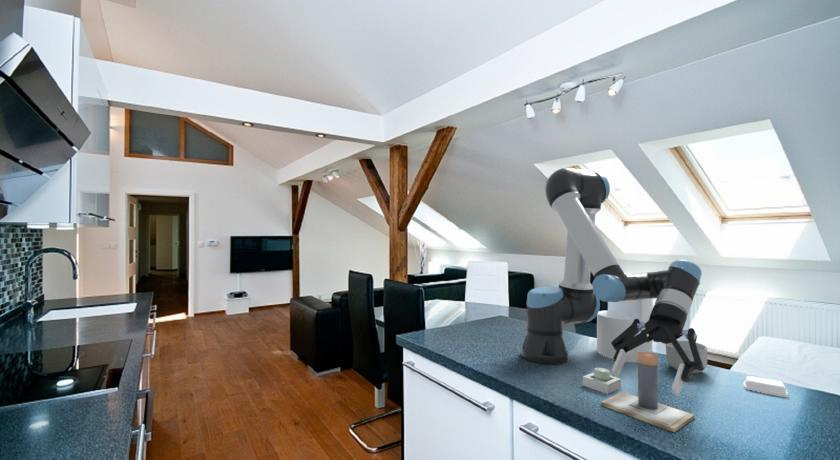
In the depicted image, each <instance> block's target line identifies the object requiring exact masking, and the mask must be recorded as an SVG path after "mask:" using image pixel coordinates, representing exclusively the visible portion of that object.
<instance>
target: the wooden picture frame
mask: <svg viewBox="0 0 840 460" xmlns="http://www.w3.org/2000/svg"><path fill="white" fill-rule="evenodd" d="M600 406H602V407H605V408H608V409H610V410H613V411H616V412H618V413H621V414H623V415H626V416H629V417H631V418H634V419H637V420H639V421H642V422H646V423H647V424H650V425H653V426H656V427H659V428H661V429H664V430H667V431H669V432H673V433H676V432H678V430H680V429H682V428H683V427H685V426H686V425H687V424H689V423H690V422H692V421H693V420H695V414H694V413H690V412H687V411H684V410H681V409H678V408H675V407H671V406H668V405H666V404H663V403H659V402H658V408H657V409H654V410H652V409H646V408H643V407H641V406H639V405H638V395H634V394H632V393H629V392H626V391H621V392H619V393H617V394H614V395H612V396H610V397H608V398H606V399H604V400H602V401H600Z"/></svg>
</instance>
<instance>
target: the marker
mask: <svg viewBox="0 0 840 460" xmlns="http://www.w3.org/2000/svg"><path fill="white" fill-rule="evenodd" d="M637 364H638V365H637V370H638V371H637V372H638V373H637V374H638V375H637V376H638V377H637V396H638V405H639V406H641V407H643V408H646V409H652V410H654V409H657V408H658V403H659V399H658V397H659V396H658V394H659V392H658V391H659V389H658V387H659V379H658V377H659V374H658V372H659V371H658V370H659V369H658V368H659V366H658V365H659V354H656V353H655V352H653V353H651V352H638V363H637Z"/></svg>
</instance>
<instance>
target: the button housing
mask: <svg viewBox="0 0 840 460" xmlns="http://www.w3.org/2000/svg"><path fill="white" fill-rule="evenodd" d="M582 386H583V387H587V388H589V389H593V390H595V391H598V392H601V393H603V394H606V395H609V394H611V393H614V392H615V391H617V390H620V389H622V378H619V377H615V376H612V375H610V380H609V381H607V382H604V381H601V380H598V379H595V378H594V371H592V372H591V373H588V374H586V375H583V376H582Z"/></svg>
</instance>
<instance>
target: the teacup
mask: <svg viewBox="0 0 840 460" xmlns="http://www.w3.org/2000/svg"><path fill="white" fill-rule="evenodd" d="M677 341H678V343H679V344H680V346H681V347H682V349H683V351H684V352H685V354H686V355H687V357H688V358H689V360H690V361H694V359H693V355H692V352H691V348H690V345H689V342H688V340H677ZM696 344H697V348H698V351H699V354H700V357H701V361H702V364H703V367H704V370H705V369H706V368H707V366H708V347H707V346H706V345H705V344H702V343H699V342H696ZM664 346H665V353H666V360H667V363H668V364H669V365H670V366H671V367H672V368H673V369H674V370H676V371H678V368H679V365H680V363H682V364H684V362H683V361H682V359H681V357H680V356H679V354H678V353H677V351H676V349H675V348H674V346H673V345H672V343H668V344H664ZM684 365H685V364H684ZM701 372H702V371H699V370H693V371H692V373H691V374H698V373H701Z"/></svg>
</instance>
